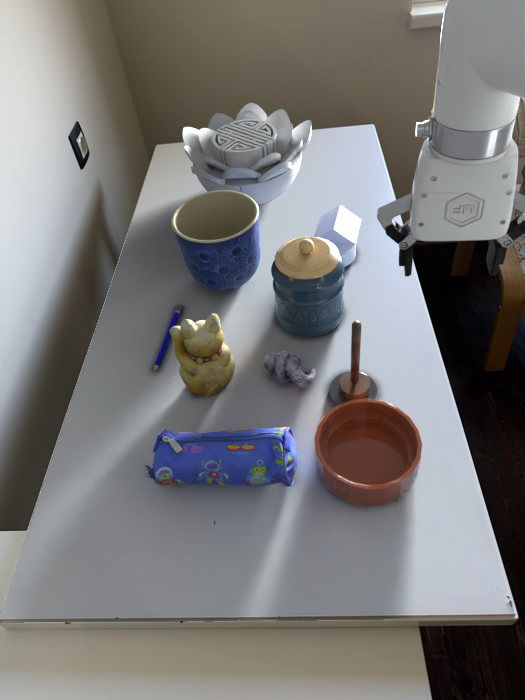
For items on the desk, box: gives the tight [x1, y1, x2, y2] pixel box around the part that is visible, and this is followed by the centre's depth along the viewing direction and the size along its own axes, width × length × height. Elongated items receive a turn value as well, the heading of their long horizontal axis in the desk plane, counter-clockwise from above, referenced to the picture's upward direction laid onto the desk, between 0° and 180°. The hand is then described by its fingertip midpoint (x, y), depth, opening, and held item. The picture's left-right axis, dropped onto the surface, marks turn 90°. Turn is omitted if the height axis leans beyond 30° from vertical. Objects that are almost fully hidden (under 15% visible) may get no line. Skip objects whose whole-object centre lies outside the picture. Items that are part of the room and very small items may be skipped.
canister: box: [270, 236, 345, 338], centre depth 101 cm, size 13×13×18 cm
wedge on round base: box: [313, 204, 362, 268], centre depth 118 cm, size 9×7×13 cm
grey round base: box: [329, 371, 378, 406], centre depth 94 cm, size 8×8×1 cm
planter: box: [170, 190, 261, 292], centre depth 112 cm, size 17×17×15 cm
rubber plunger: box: [339, 320, 370, 401], centre depth 88 cm, size 5×5×16 cm
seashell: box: [261, 351, 316, 388], centre depth 96 cm, size 5×5×10 cm
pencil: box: [153, 304, 182, 372], centre depth 107 cm, size 17×1×1 cm, turn 170°
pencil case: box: [144, 426, 298, 487], centre depth 83 cm, size 22×9×10 cm, turn 87°
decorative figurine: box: [169, 312, 236, 397], centre depth 93 cm, size 10×8×15 cm
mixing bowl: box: [314, 399, 423, 507], centre depth 83 cm, size 15×15×6 cm
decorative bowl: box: [182, 102, 312, 205], centre depth 132 cm, size 30×30×15 cm
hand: (448, 268), depth 67 cm, fingers open, 9 cm apart
